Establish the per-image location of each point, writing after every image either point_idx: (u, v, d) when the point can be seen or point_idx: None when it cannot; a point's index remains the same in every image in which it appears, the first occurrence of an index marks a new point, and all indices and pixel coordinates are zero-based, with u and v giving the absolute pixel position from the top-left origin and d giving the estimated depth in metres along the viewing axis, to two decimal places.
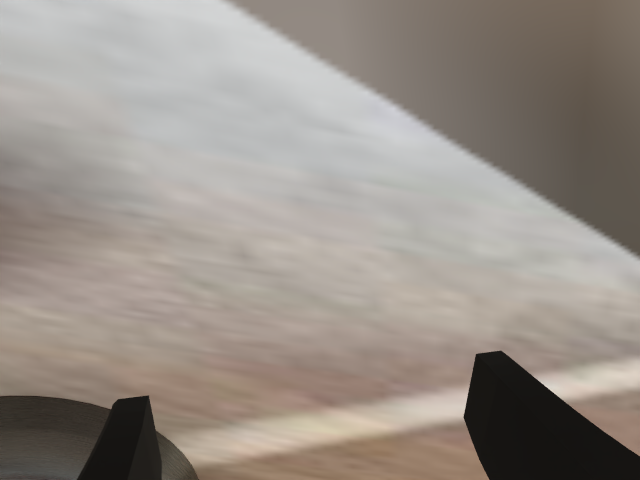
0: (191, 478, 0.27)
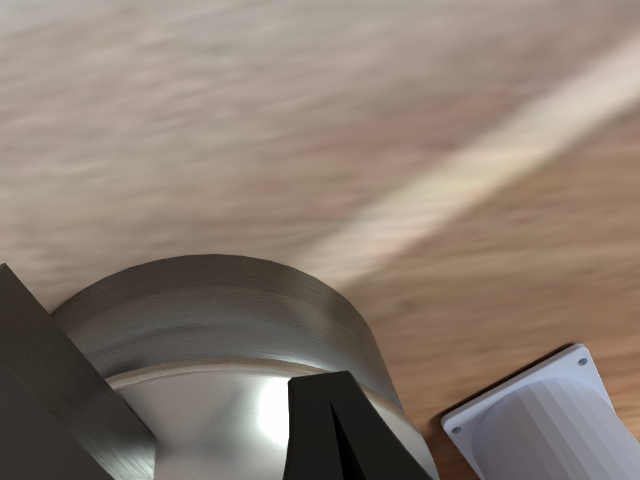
0: (336, 299, 0.23)
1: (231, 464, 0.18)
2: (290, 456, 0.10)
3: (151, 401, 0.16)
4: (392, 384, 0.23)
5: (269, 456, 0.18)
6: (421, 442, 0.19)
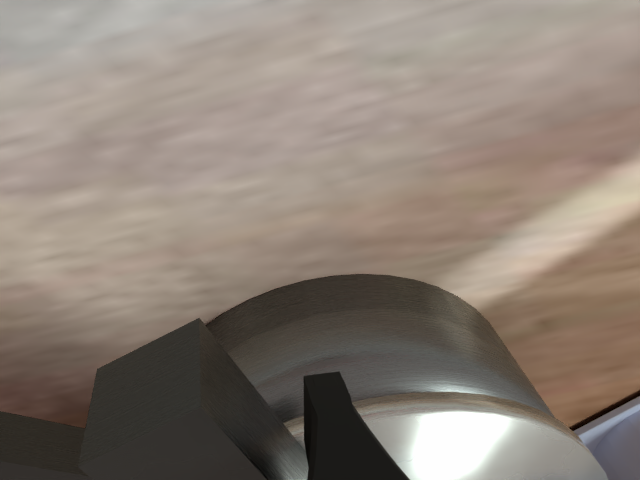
0: (482, 320, 0.22)
1: None
2: (314, 452, 0.10)
3: None
4: None
5: None
6: (601, 467, 0.18)
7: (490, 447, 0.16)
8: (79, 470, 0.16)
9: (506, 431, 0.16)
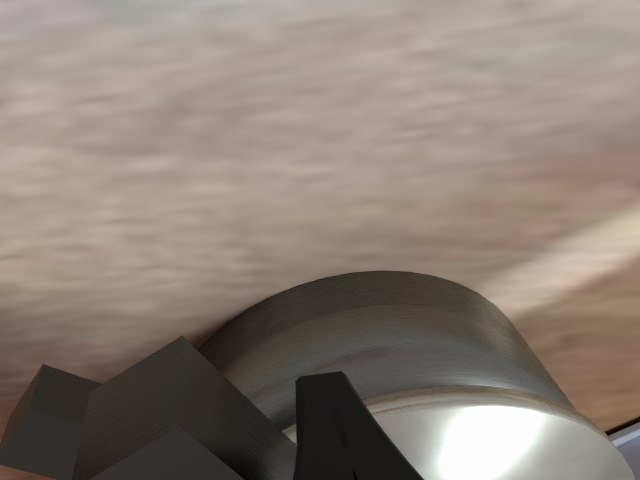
0: (516, 329, 0.23)
1: None
2: (300, 454, 0.10)
3: None
4: None
5: None
6: (617, 450, 0.17)
7: (497, 439, 0.16)
8: None
9: (511, 421, 0.16)
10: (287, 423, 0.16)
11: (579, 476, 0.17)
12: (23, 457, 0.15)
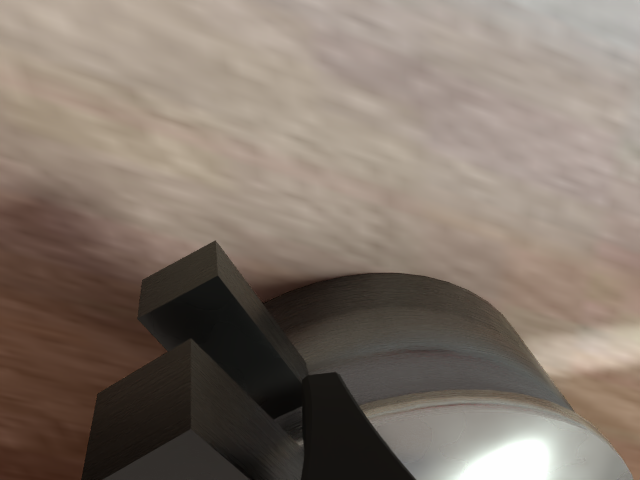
0: None
1: None
2: (308, 453, 0.10)
3: None
4: None
5: None
6: (617, 454, 0.17)
7: (500, 442, 0.16)
8: (275, 347, 0.15)
9: (514, 425, 0.16)
10: (417, 388, 0.16)
11: None
12: (168, 325, 0.14)
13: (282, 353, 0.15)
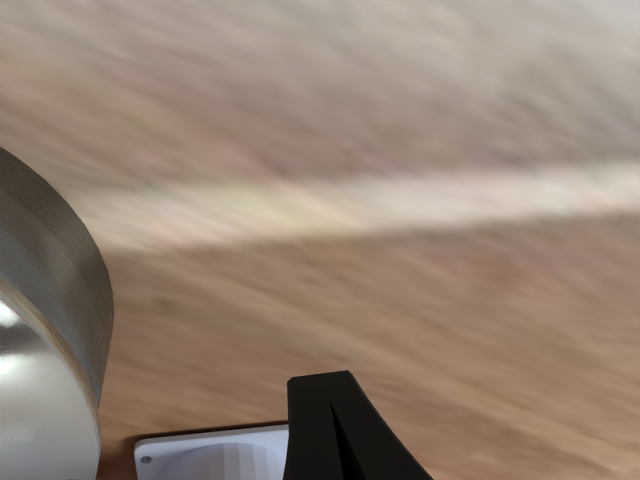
0: (94, 258, 0.21)
1: None
2: (290, 456, 0.10)
3: None
4: (102, 370, 0.20)
5: None
6: None
7: None
8: None
9: None
10: None
11: None
12: None
13: None
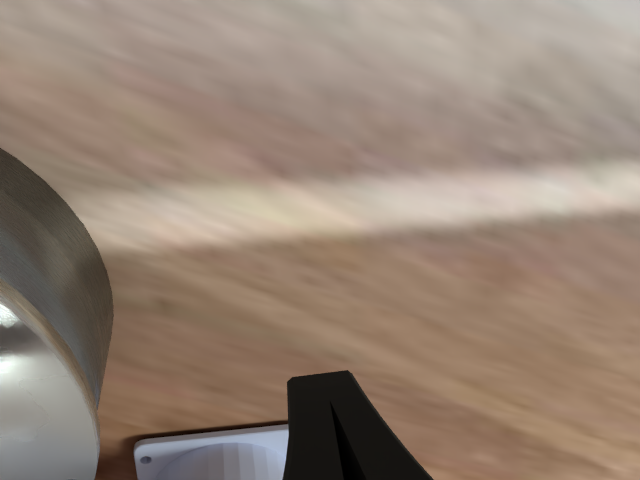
0: (93, 258, 0.21)
1: None
2: (290, 456, 0.10)
3: None
4: (102, 370, 0.20)
5: None
6: None
7: None
8: None
9: None
10: None
11: None
12: None
13: None
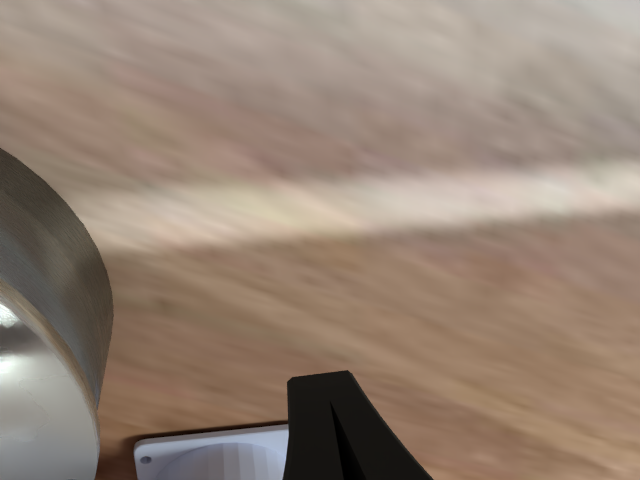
0: (93, 258, 0.21)
1: None
2: (290, 456, 0.10)
3: None
4: (102, 370, 0.20)
5: None
6: None
7: None
8: None
9: None
10: None
11: None
12: None
13: None
